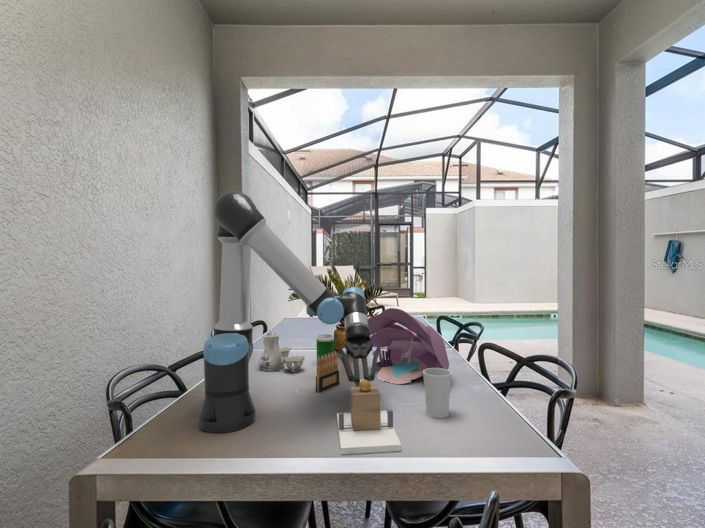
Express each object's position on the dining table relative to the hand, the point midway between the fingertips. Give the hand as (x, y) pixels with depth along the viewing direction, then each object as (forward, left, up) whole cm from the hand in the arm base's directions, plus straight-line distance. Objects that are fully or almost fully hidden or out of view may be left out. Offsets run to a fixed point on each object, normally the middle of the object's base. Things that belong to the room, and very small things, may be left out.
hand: (364, 404), depth 105 cm
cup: (+22, -3, -6) cm, 23 cm away
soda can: (+12, +60, -6) cm, 61 cm away
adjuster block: (-2, -4, -4) cm, 6 cm away
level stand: (-2, -5, -5) cm, 8 cm away
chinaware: (-7, +65, -6) cm, 66 cm away
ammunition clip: (+2, +32, -6) cm, 33 cm away
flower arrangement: (+32, +30, -6) cm, 44 cm away
